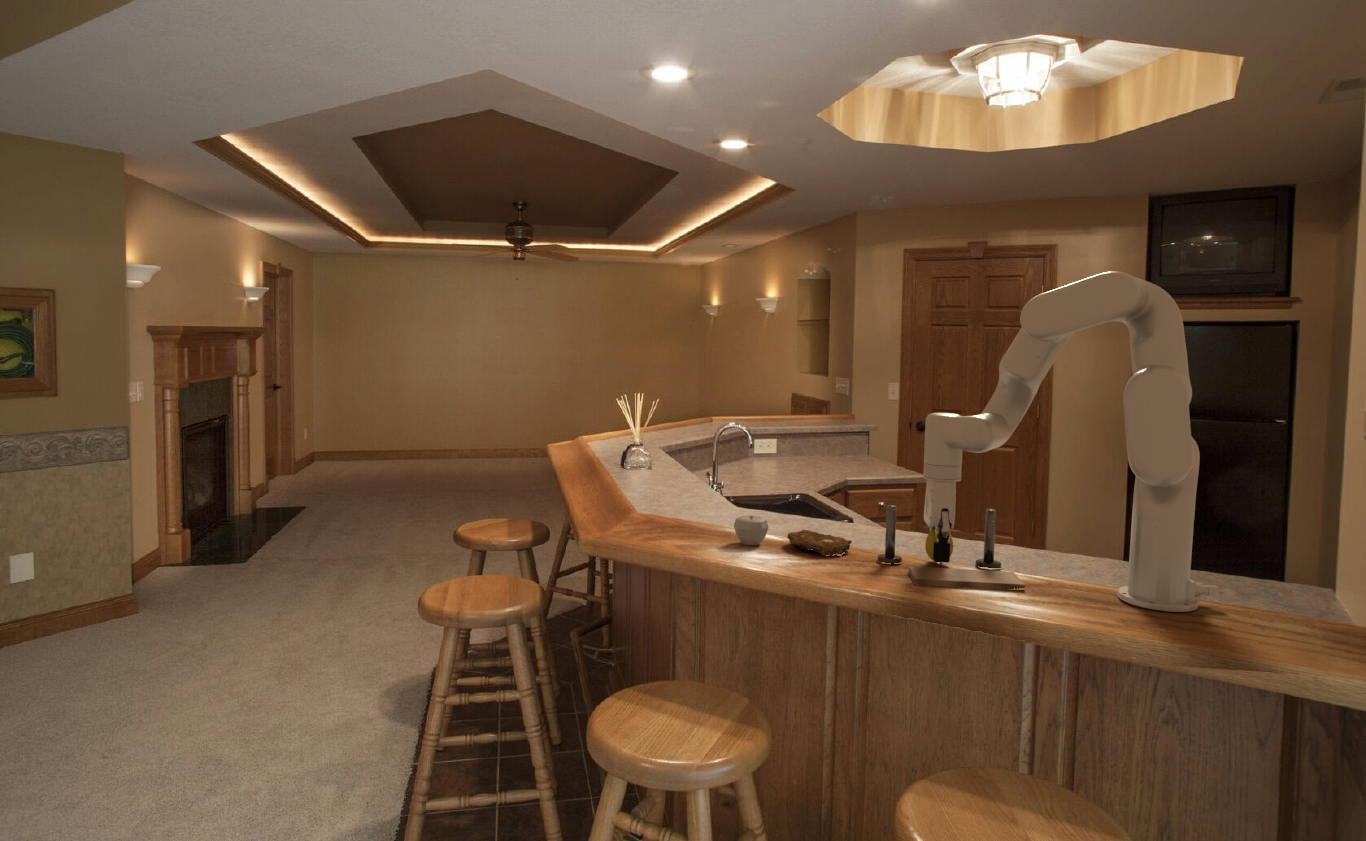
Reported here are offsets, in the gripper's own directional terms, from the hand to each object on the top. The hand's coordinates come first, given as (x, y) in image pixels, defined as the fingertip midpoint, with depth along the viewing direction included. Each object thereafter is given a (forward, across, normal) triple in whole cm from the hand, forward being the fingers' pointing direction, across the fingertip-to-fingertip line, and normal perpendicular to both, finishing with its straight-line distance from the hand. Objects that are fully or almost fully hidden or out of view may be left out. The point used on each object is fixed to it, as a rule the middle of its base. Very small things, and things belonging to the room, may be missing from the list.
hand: (938, 557), depth 169 cm
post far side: (+2, 0, -10) cm, 10 cm away
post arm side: (+2, 0, +10) cm, 10 cm away
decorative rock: (+2, -8, -25) cm, 27 cm away
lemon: (+2, 0, 0) cm, 2 cm away
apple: (+2, -10, -40) cm, 41 cm away
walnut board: (+1, +12, +3) cm, 12 cm away
